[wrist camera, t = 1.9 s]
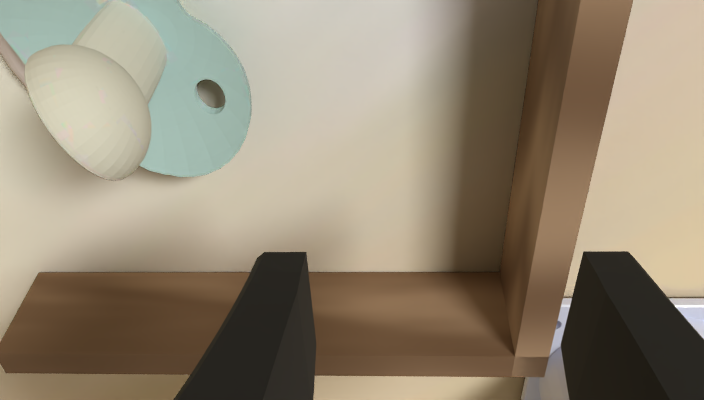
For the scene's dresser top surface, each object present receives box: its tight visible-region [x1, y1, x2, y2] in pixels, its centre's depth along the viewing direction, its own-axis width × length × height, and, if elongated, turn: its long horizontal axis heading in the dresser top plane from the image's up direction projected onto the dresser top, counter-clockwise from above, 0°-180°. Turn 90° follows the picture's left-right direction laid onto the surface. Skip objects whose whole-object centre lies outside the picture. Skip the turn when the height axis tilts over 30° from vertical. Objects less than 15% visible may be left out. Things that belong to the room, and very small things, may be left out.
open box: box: [0, 0, 633, 377], centre depth 16 cm, size 20×17×4 cm
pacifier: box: [0, 0, 251, 181], centre depth 16 cm, size 7×6×6 cm
